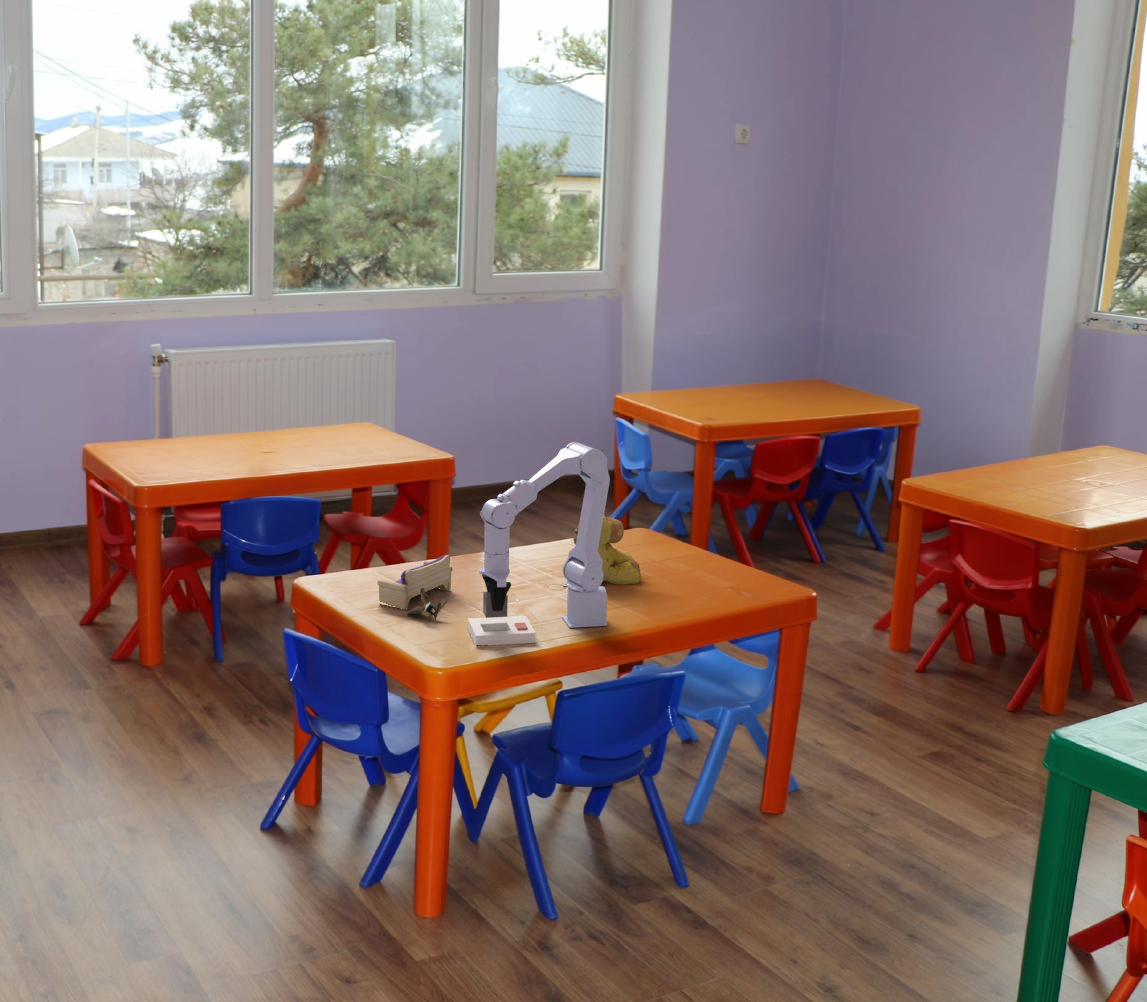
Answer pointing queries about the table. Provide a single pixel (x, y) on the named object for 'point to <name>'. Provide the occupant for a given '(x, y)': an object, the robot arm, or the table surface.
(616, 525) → the giraffe plush
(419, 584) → the toy sofa
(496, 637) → the socket
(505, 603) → the plug
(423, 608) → the eagle figurine
